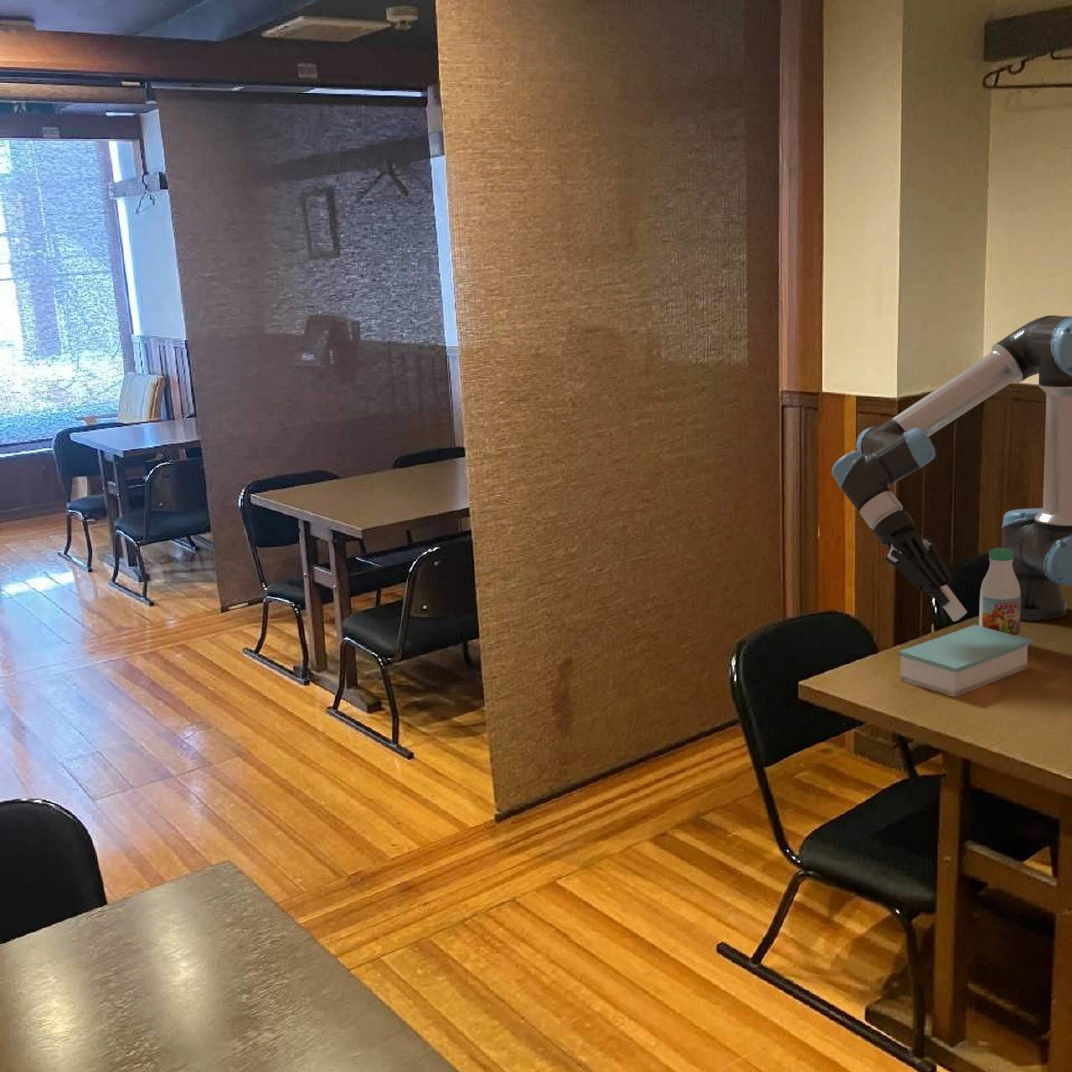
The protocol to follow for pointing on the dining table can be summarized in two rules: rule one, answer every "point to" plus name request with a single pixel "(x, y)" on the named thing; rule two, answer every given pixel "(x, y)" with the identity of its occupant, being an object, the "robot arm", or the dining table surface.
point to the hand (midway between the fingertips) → (960, 616)
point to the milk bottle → (1000, 594)
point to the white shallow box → (962, 673)
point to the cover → (965, 648)
